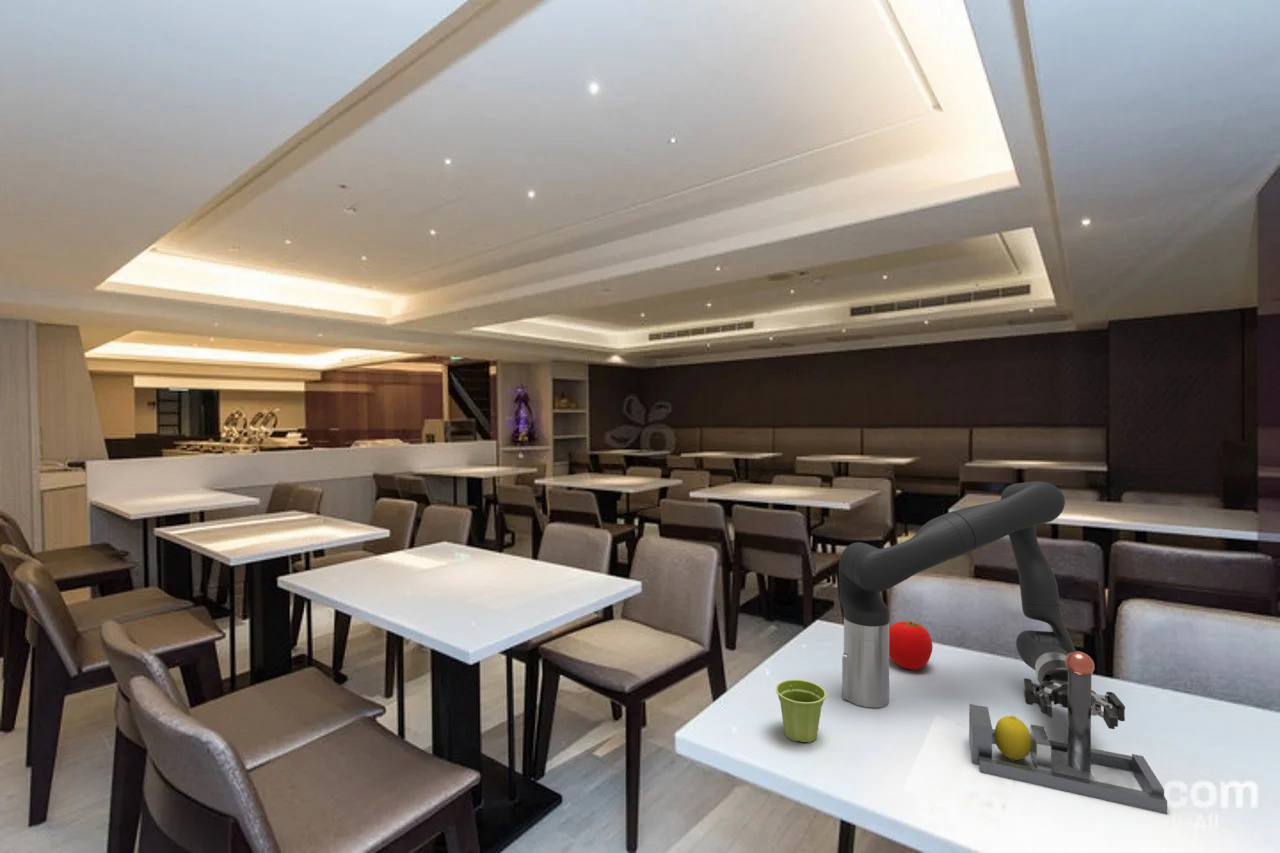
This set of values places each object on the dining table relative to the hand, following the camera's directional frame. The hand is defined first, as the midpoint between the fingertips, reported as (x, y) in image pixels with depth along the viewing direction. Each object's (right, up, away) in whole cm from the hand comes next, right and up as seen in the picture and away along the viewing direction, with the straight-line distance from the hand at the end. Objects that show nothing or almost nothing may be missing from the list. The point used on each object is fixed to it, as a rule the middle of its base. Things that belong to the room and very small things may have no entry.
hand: (1080, 717), depth 99 cm
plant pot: (-43, -11, +15) cm, 47 cm away
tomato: (-8, -10, +45) cm, 47 cm away
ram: (-1, -10, +3) cm, 11 cm away
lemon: (-8, -11, +6) cm, 14 cm away
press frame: (-3, -10, +3) cm, 11 cm away
